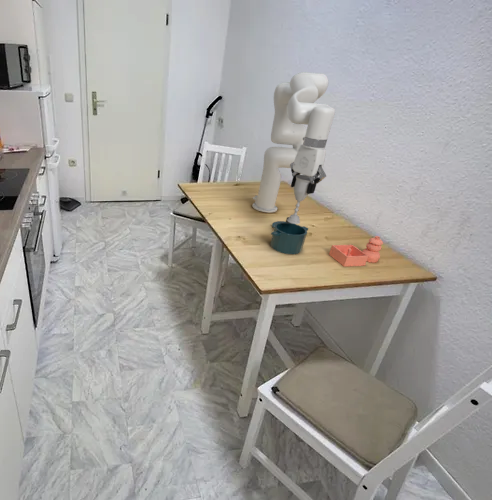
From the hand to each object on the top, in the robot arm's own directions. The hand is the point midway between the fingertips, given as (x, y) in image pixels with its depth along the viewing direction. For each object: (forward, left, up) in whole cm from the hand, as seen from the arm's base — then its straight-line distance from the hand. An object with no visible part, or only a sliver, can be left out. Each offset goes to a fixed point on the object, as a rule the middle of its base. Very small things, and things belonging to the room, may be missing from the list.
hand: (301, 189), depth 139 cm
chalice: (0, 0, -13) cm, 13 cm away
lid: (-14, +14, -24) cm, 31 cm away
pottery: (+18, +20, -25) cm, 37 cm away
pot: (0, 0, -25) cm, 25 cm away
